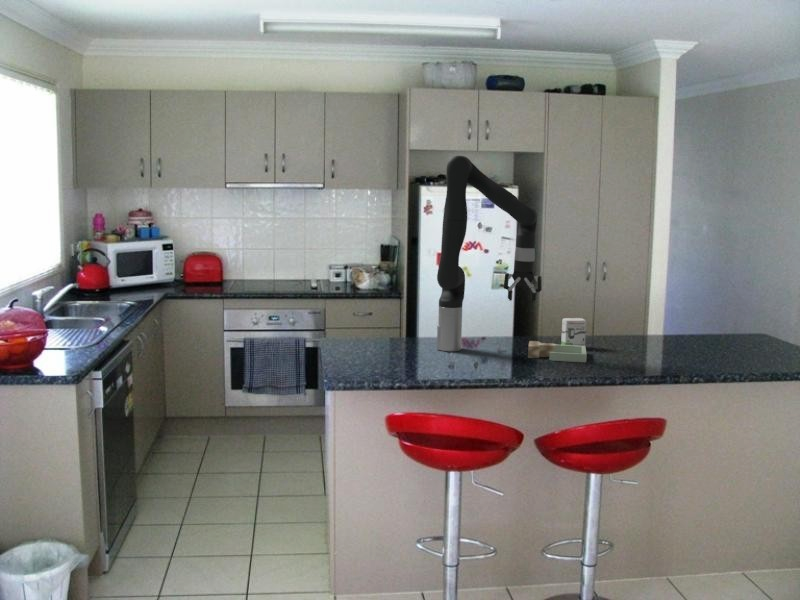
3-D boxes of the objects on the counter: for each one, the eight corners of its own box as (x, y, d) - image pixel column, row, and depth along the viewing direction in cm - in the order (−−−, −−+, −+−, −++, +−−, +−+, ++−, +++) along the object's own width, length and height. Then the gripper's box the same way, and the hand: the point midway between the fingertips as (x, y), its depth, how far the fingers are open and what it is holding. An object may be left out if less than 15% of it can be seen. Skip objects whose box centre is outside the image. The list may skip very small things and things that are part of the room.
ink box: (564, 349, 340) (566, 320, 338) (560, 346, 345) (561, 318, 343) (585, 348, 341) (586, 320, 339) (580, 346, 346) (582, 317, 344)
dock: (549, 360, 319) (549, 352, 319) (549, 351, 335) (550, 344, 334) (586, 362, 317) (586, 354, 316) (585, 353, 332) (585, 346, 332)
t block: (528, 357, 324) (528, 346, 323) (529, 352, 333) (529, 341, 333) (554, 358, 322) (555, 347, 321) (555, 353, 331) (555, 342, 331)
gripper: (504, 259, 322) (501, 301, 325) (541, 261, 318) (538, 304, 321) (507, 257, 329) (505, 298, 332) (544, 259, 325) (541, 301, 328)
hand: (521, 301), depth 327 cm, fingers open, 8 cm apart
